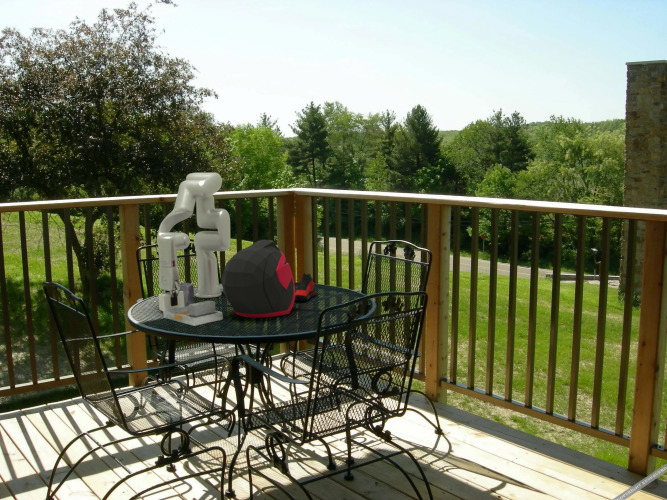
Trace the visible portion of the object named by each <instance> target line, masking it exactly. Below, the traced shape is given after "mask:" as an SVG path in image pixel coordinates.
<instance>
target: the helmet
mask: <svg viewBox="0 0 667 500" xmlns="http://www.w3.org/2000/svg"><path fill="white" fill-rule="evenodd" d="M286 259H287V257H285V254H284V253H283V251H281V250H280V248H279V247H278V245H277V244H276V243H275V242H274V241H273V240H270V239H260V240H258V241H256V242H254V243H252V244H250V245H249V246H247V247H245V248H242V249H240V250H239V251H238V252H236V253H235V254H233V256H232V257H230V259H229V260H227V262H226V263H225V267H224V269H223V273H222V275H221V278H220V281H221V286H223V290H222V291H223V295H224V296H225V297H226V299H227V301H228V303H229V304H230V306H231V307H232V311H233V312H234V313H235V314H236V315H238V316H241V317H245V318H254V319H255V318H257V319H258V318H263V319H265V318H273V317H278V316H283V315H288V314H290V313H291V311H292V309H293V307H294V303H295V301H296V300H295V293H296V287H295V280H294V276H293V272H292V269H291V265H290V263H288V262H287V261H286Z"/></svg>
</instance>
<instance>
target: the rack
mask: <svg viewBox="0 0 667 500" xmlns="http://www.w3.org/2000/svg"><path fill="white" fill-rule="evenodd" d="M162 313H163V318H164V319H167V320H170V321H175V322H178V323H182V324H185V325H190V326H194V327H195V326H200V325H203V324H209V323H212V322H216V321H217V322H218V321H221V320H223V319H224V317H223V312H222V311H218V310H216V301H213V300H204V301H200V302H194V304H189V306H184V307H179V308H174V309H169V310H164V311H162Z"/></svg>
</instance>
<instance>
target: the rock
mask: <svg viewBox="0 0 667 500" xmlns="http://www.w3.org/2000/svg"><path fill="white" fill-rule="evenodd" d="M194 289H195V288H194V284H193V283H190V282H182V283H180V290H181V291H183V293H184V306H189V304H194V303H196V301H195V297H194V296H195V290H194Z"/></svg>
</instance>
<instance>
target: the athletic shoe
mask: <svg viewBox="0 0 667 500" xmlns="http://www.w3.org/2000/svg"><path fill="white" fill-rule="evenodd" d="M300 278H301V279H300V281H299V284H298V287H297V290H295V300H294V301H298V302H299V301H300V302H306V301H309V300H310V298H313V297H314V296H316V295H317V294H316V290H315V286H314V285H315V283H314V280H313V277H312V276H311V273H303V274H302V276H301V277H300Z"/></svg>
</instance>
